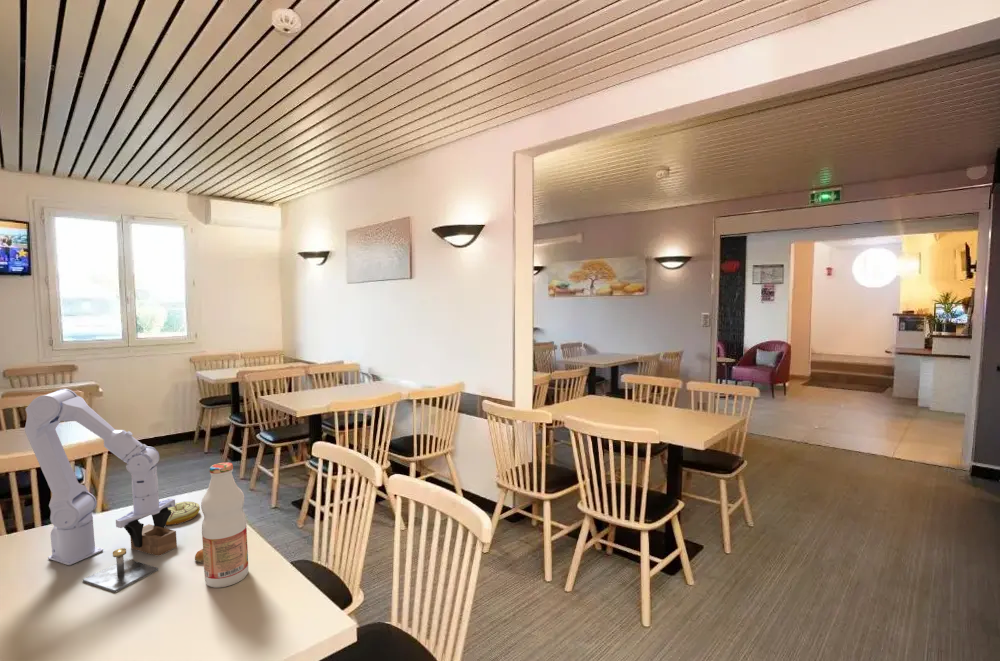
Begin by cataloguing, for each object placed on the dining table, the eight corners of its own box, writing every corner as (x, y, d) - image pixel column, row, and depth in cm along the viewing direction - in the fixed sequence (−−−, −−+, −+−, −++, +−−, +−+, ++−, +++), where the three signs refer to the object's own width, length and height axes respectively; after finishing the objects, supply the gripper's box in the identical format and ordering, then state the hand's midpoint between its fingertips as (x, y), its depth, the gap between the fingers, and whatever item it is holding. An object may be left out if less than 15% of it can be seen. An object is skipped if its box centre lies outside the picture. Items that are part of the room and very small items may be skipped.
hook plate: (82, 581, 120) (80, 556, 120) (126, 560, 129) (125, 537, 129) (114, 592, 116) (112, 566, 115) (158, 570, 125) (156, 545, 125)
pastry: (197, 568, 126) (196, 553, 126) (192, 557, 131) (191, 543, 131) (238, 555, 132) (237, 541, 132) (232, 545, 137) (231, 532, 137)
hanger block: (131, 548, 136) (130, 532, 135) (149, 540, 140) (148, 524, 140) (158, 556, 132) (157, 539, 131) (176, 547, 136) (175, 530, 136)
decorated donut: (152, 521, 152) (151, 509, 152) (189, 508, 161) (188, 497, 161) (168, 529, 147) (167, 517, 146) (206, 515, 156) (205, 504, 155)
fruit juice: (195, 585, 118) (188, 470, 116) (226, 564, 127) (220, 457, 125) (228, 591, 116) (222, 474, 114) (257, 569, 125) (252, 460, 123)
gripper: (126, 506, 127) (130, 557, 128) (181, 485, 141) (184, 532, 142) (109, 502, 130) (112, 552, 131) (164, 482, 143) (167, 527, 144)
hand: (148, 541), depth 137 cm, fingers closed on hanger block, 5 cm apart
